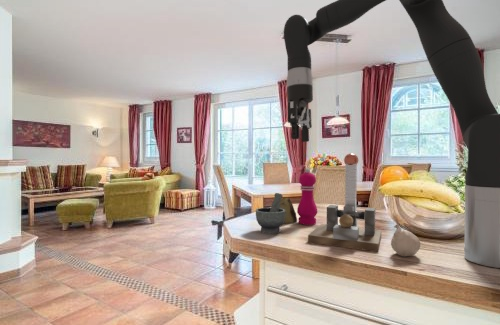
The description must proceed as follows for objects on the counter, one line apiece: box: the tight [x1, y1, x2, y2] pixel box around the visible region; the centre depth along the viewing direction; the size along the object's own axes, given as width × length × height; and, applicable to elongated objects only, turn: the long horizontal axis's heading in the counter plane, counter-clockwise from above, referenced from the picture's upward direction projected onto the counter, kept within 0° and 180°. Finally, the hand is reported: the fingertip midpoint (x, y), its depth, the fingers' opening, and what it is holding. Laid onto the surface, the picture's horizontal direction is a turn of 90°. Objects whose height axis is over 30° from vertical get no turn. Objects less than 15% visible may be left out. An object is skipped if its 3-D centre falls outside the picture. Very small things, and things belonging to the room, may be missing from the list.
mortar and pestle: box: [255, 192, 285, 235], centre depth 93 cm, size 11×9×12 cm
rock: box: [279, 197, 298, 224], centre depth 108 cm, size 10×8×10 cm
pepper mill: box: [296, 168, 318, 226], centre depth 105 cm, size 7×7×20 cm
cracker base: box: [307, 204, 382, 252], centre depth 84 cm, size 18×16×9 cm
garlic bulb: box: [390, 223, 421, 257], centre depth 70 cm, size 7×6×8 cm
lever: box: [337, 152, 365, 227], centre depth 83 cm, size 8×8×22 cm
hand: (300, 140), depth 86 cm, fingers open, 8 cm apart
